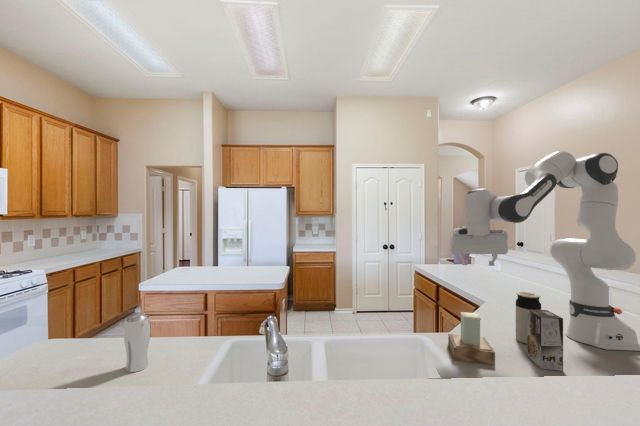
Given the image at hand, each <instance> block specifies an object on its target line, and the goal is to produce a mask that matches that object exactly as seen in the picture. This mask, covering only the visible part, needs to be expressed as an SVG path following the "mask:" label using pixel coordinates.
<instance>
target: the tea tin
mask: <svg viewBox="0 0 640 426" xmlns="http://www.w3.org/2000/svg"><path fill="white" fill-rule="evenodd" d="M481 320H482V319H481V316H479V314H478V313H476V312H467V311H466V312H464V311H460V335H461V339H462V341H463V343H464V344H472V345H480V337H481Z"/></svg>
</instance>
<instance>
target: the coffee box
mask: <svg viewBox="0 0 640 426" xmlns="http://www.w3.org/2000/svg"><path fill="white" fill-rule="evenodd" d="M527 341H528V344H527V357H528V358H529V359H530V360H531V361H533V362H534V364H536V365H537V366H538V368H540V369H542V370H552V371H559V372H560V371H561V372H563V371H564V318H563V317H561V316H559V315H557V314H555V313H554V312H552V311H549V310H548V309H541V310H531V309H527Z"/></svg>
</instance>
